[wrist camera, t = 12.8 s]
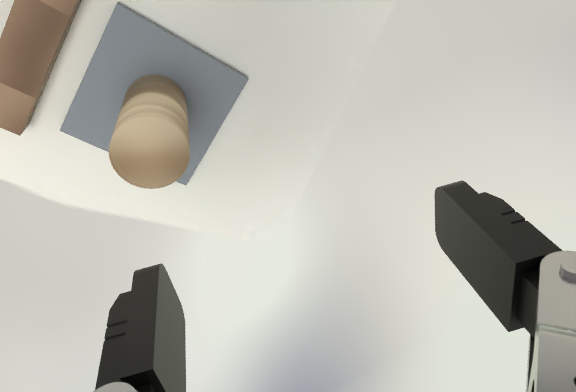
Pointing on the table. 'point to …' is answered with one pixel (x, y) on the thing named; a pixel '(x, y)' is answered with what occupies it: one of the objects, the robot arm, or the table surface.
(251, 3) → the table surface
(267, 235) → the table surface
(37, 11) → the pocket block
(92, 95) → the mat
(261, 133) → the table surface
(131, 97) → the peg
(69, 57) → the table surface
